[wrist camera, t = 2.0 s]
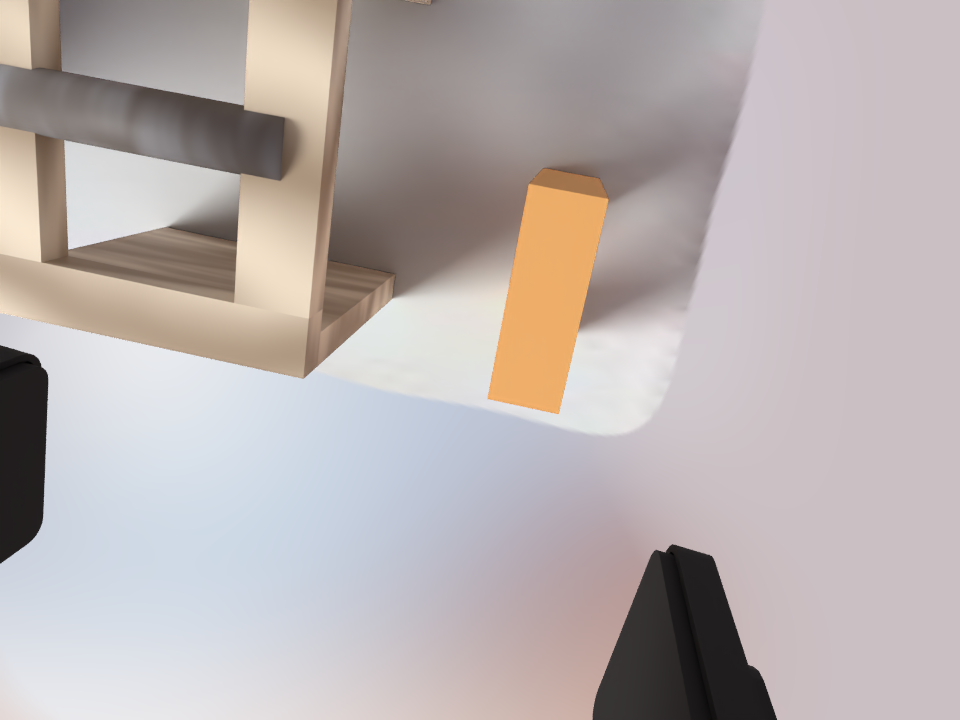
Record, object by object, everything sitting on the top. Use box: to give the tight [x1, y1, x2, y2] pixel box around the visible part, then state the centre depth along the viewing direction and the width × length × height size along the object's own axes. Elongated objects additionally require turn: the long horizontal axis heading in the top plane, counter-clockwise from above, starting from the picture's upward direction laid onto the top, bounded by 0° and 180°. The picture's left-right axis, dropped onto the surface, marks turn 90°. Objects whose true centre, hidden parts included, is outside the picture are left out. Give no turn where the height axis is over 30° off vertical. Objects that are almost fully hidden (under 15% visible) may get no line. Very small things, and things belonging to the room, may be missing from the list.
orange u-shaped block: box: [488, 168, 609, 414], centre depth 32 cm, size 9×3×12 cm, turn 170°
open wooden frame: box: [0, 0, 431, 378], centre depth 30 cm, size 17×14×14 cm
